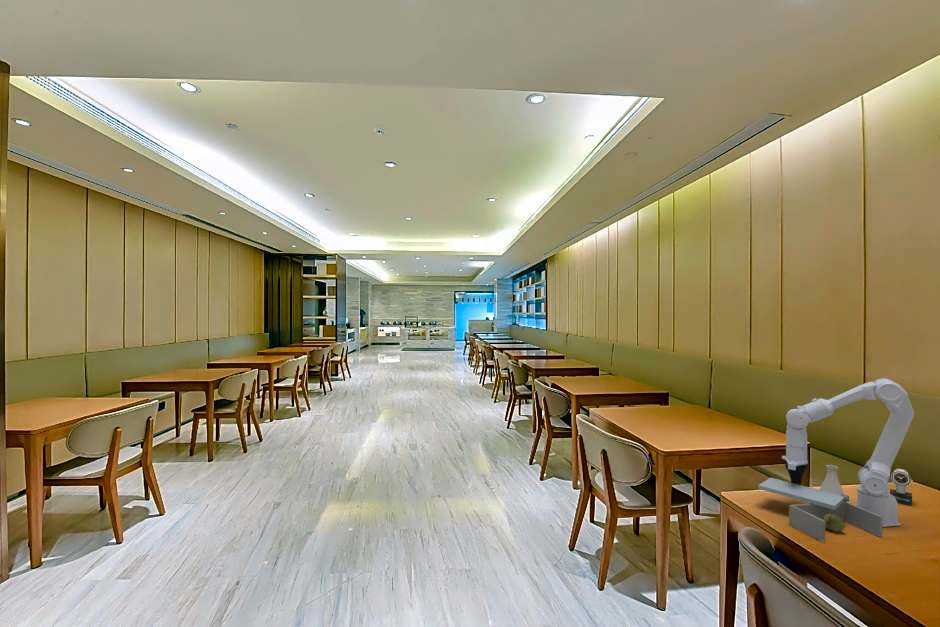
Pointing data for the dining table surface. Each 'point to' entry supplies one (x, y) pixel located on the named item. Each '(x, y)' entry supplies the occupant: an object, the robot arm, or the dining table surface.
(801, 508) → the grey angular open frame
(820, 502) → the cover
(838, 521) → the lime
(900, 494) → the watch
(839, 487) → the flask
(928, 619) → the dining table surface
